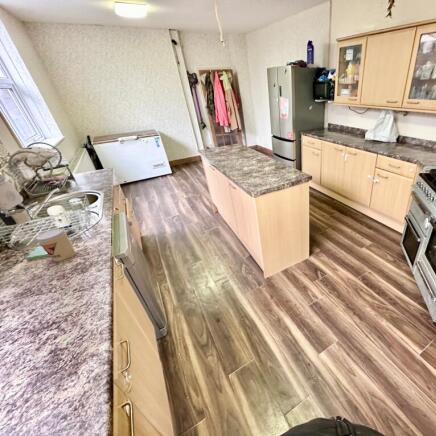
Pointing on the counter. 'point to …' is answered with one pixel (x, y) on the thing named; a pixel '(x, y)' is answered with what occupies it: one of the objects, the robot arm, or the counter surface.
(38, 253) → the light green flat piece
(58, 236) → the coffee cup
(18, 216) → the bowl
